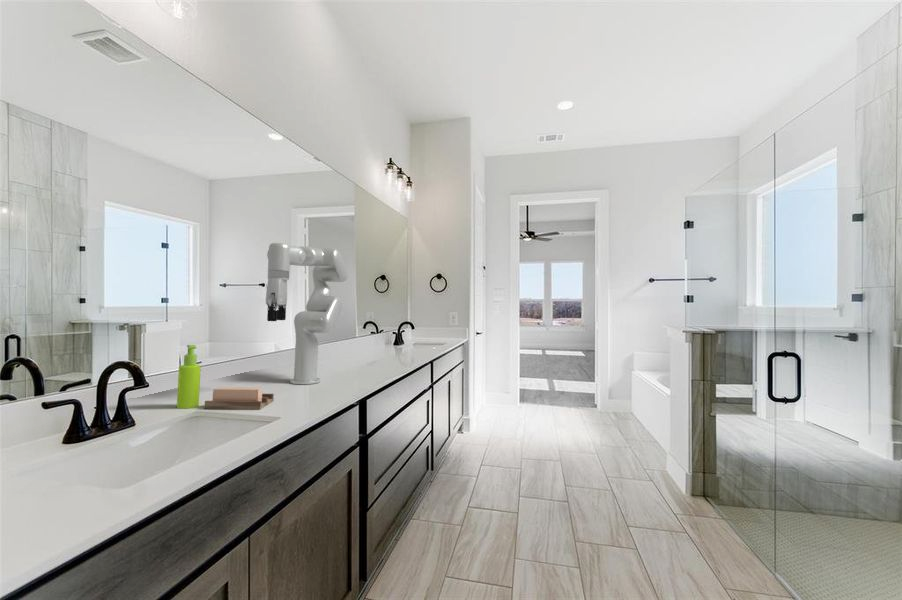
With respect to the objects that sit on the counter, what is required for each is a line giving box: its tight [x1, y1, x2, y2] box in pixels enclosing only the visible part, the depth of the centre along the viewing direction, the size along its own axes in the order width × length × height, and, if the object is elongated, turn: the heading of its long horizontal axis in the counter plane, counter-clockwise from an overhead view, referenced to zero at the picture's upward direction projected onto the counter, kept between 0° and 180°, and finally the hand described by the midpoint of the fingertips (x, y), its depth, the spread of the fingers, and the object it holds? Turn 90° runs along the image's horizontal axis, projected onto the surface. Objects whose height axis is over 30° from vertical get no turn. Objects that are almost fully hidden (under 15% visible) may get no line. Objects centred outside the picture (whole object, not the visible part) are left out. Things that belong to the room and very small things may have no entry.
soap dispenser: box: [176, 344, 202, 410], centre depth 124 cm, size 6×7×20 cm
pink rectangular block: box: [212, 386, 263, 401], centre depth 126 cm, size 4×14×5 cm, turn 96°
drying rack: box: [203, 393, 275, 411], centre depth 128 cm, size 12×17×2 cm
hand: (276, 320), depth 146 cm, fingers open, 9 cm apart
